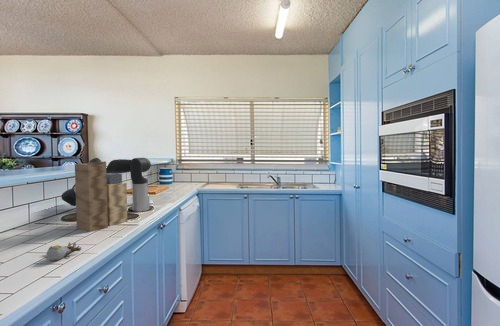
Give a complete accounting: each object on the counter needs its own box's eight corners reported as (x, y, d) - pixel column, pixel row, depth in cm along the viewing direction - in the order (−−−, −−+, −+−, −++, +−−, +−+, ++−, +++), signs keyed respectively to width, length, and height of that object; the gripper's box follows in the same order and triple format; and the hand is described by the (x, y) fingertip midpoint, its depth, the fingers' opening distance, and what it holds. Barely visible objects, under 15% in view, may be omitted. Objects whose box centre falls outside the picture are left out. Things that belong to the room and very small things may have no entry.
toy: (88, 239, 122) (69, 246, 107) (87, 252, 122) (68, 262, 107) (56, 239, 121) (33, 247, 106) (56, 252, 121) (32, 262, 106)
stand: (94, 224, 158) (92, 160, 156) (107, 227, 152) (106, 161, 150) (76, 228, 151) (74, 161, 149) (90, 231, 144) (88, 162, 142)
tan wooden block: (114, 218, 170) (113, 181, 169) (127, 221, 163) (126, 183, 162) (96, 222, 162) (95, 183, 160) (110, 225, 155) (109, 185, 154)
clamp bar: (99, 180, 174) (99, 171, 173) (121, 183, 162) (121, 173, 161) (87, 181, 168) (86, 172, 167) (109, 184, 156) (109, 174, 156)
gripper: (97, 190, 182) (110, 178, 173) (72, 194, 170) (85, 181, 162) (93, 179, 183) (106, 167, 175) (68, 182, 171) (81, 168, 163)
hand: (96, 174), depth 168 cm, fingers open, 8 cm apart
